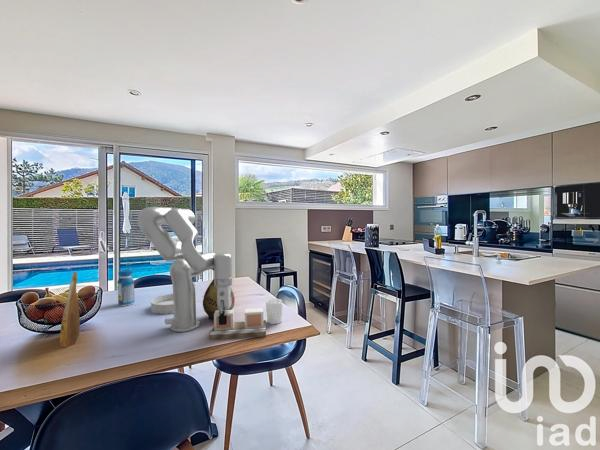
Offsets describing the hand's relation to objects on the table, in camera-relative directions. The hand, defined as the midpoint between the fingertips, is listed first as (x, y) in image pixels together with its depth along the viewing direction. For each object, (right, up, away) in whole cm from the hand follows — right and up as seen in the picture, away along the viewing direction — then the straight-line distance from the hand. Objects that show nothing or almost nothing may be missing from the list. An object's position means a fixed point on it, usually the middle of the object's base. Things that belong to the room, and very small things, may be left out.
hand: (224, 320), depth 127 cm
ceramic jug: (-7, -5, +20) cm, 21 cm away
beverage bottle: (-68, -5, +42) cm, 81 cm away
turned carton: (0, -3, 0) cm, 3 cm away
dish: (-38, -5, +36) cm, 53 cm away
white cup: (+21, -5, +12) cm, 24 cm away
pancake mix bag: (-63, -7, -5) cm, 63 cm away
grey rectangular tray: (+7, -5, +1) cm, 8 cm away
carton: (+13, -3, +2) cm, 13 cm away
